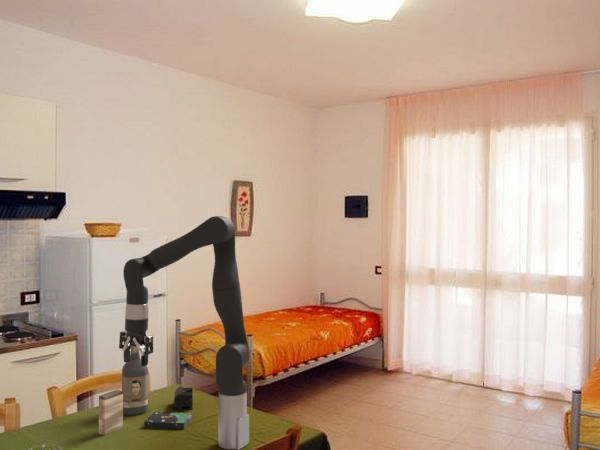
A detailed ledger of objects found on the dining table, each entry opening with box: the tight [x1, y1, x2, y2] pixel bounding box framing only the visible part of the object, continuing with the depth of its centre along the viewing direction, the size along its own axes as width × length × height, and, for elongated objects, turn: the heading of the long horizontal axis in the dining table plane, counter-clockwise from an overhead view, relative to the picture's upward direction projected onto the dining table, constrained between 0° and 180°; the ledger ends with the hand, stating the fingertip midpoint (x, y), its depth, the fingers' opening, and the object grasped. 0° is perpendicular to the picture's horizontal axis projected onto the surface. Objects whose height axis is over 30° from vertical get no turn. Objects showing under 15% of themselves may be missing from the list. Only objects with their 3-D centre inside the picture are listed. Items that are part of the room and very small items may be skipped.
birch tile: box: [98, 389, 124, 436], centre depth 183 cm, size 3×8×13 cm, turn 152°
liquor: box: [121, 346, 149, 416], centre depth 202 cm, size 9×9×30 cm
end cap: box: [173, 385, 194, 411], centre depth 207 cm, size 10×7×7 cm
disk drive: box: [143, 411, 193, 430], centre depth 190 cm, size 10×3×15 cm
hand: (135, 363), depth 178 cm, fingers open, 8 cm apart
